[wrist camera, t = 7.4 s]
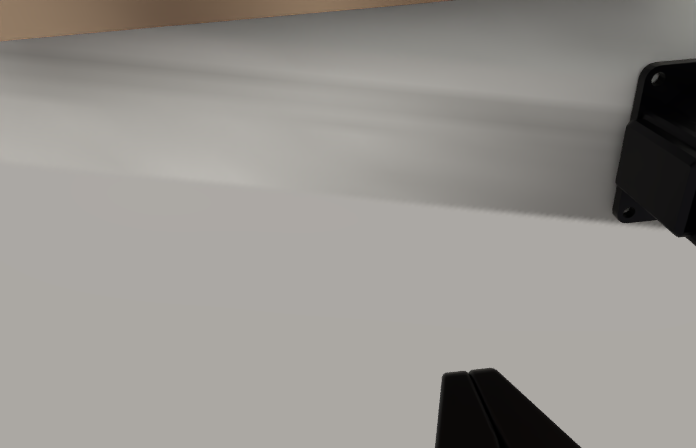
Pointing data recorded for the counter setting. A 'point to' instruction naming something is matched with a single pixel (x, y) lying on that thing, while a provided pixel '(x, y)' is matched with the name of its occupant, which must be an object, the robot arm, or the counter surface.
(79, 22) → the instrument deck
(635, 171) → the robot arm
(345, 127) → the counter surface
